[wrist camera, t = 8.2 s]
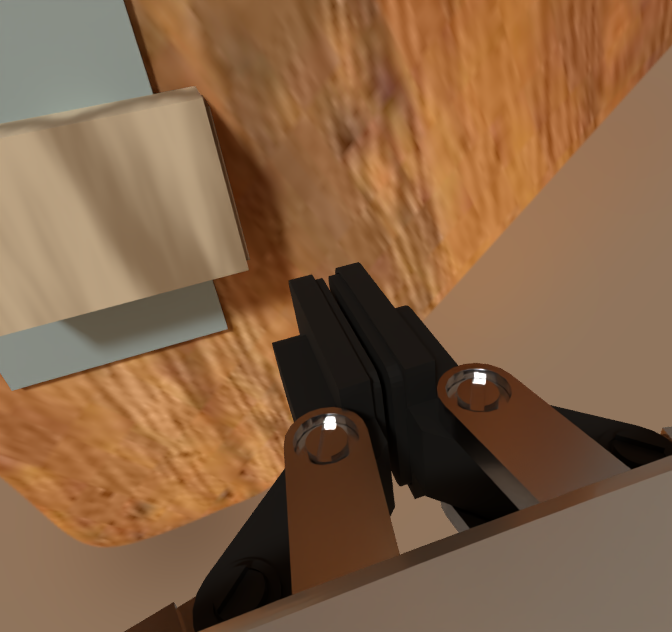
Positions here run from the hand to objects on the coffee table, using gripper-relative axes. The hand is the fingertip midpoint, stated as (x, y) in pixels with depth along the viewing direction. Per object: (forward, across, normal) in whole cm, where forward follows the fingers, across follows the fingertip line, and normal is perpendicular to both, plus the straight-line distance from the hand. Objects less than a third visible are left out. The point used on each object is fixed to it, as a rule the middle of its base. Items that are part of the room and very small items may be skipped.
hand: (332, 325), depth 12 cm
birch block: (+15, +1, 0) cm, 16 cm away
